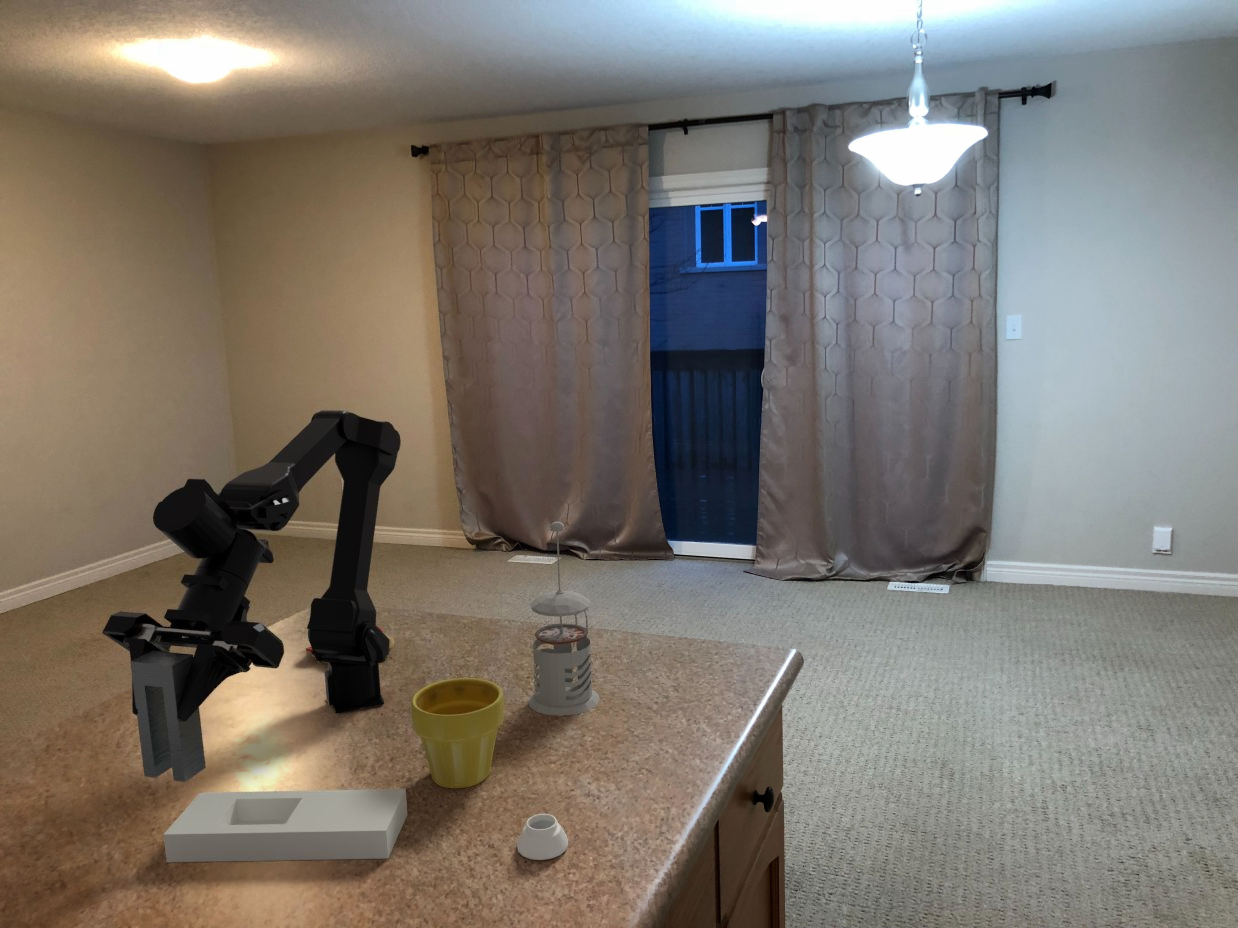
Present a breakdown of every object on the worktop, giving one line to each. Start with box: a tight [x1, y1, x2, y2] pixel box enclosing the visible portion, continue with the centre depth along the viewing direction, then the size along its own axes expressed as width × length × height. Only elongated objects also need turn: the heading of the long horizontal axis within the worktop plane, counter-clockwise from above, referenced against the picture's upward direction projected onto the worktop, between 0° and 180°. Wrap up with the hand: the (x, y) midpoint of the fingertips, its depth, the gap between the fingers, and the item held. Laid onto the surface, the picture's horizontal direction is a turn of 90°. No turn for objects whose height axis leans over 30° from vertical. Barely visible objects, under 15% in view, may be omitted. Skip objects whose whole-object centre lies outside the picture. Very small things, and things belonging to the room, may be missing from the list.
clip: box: [129, 651, 207, 783], centre depth 96 cm, size 3×5×12 cm, turn 74°
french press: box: [527, 521, 601, 717], centre depth 127 cm, size 10×12×25 cm
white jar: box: [516, 813, 569, 861], centre depth 94 cm, size 5×3×5 cm
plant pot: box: [410, 677, 505, 789], centre depth 108 cm, size 10×10×10 cm
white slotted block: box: [163, 788, 408, 863], centre depth 97 cm, size 8×22×3 cm, turn 89°
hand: (158, 717), depth 95 cm, fingers closed on clip, 5 cm apart
